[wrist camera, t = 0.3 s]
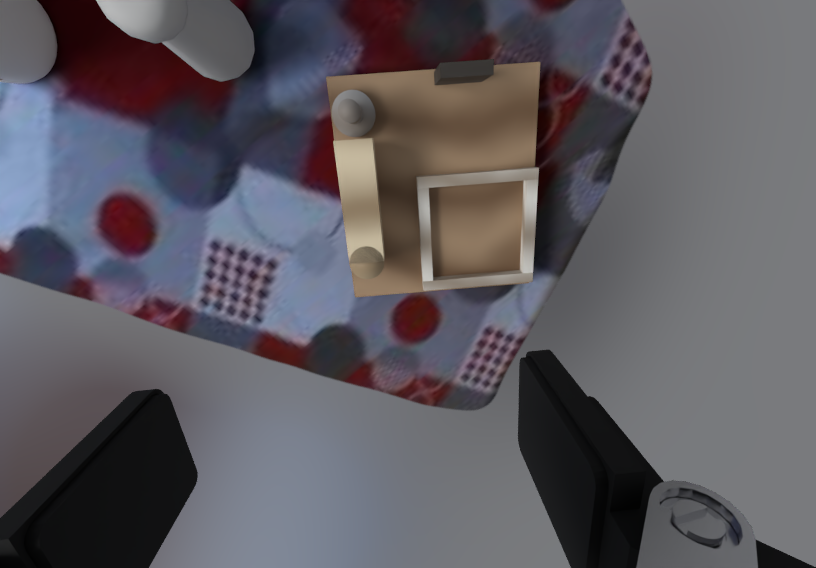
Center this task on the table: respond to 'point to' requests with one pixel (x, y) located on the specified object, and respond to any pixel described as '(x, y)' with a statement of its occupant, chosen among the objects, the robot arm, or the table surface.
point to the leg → (360, 205)
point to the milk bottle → (25, 42)
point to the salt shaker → (190, 31)
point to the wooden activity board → (448, 171)
